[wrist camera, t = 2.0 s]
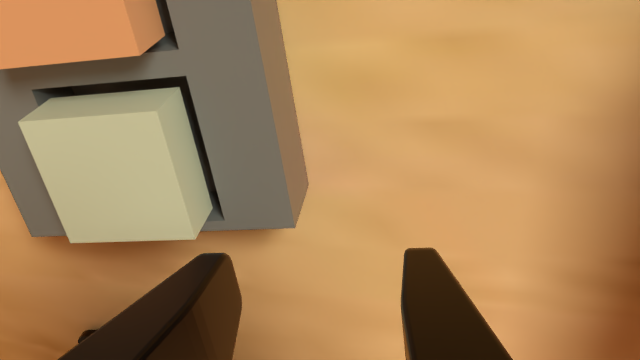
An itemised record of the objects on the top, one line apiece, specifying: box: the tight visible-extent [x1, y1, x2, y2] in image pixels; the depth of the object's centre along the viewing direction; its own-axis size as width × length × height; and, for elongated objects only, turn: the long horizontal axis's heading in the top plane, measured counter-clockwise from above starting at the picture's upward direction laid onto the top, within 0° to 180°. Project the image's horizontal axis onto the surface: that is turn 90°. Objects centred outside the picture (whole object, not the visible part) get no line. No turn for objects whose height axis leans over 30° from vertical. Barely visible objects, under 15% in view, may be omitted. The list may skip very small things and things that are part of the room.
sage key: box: [18, 87, 213, 243], centre depth 19 cm, size 4×4×2 cm
